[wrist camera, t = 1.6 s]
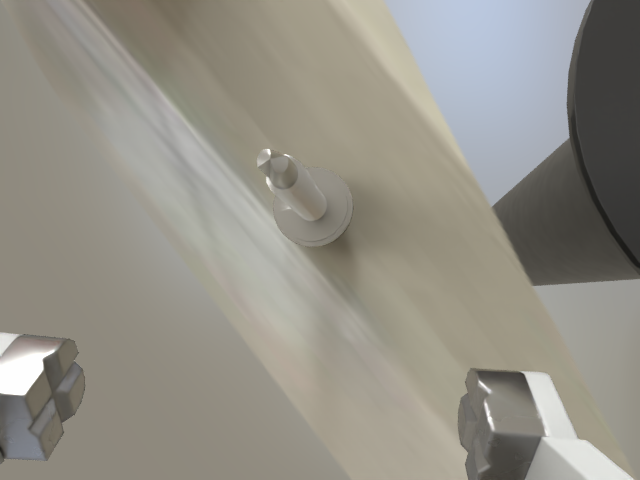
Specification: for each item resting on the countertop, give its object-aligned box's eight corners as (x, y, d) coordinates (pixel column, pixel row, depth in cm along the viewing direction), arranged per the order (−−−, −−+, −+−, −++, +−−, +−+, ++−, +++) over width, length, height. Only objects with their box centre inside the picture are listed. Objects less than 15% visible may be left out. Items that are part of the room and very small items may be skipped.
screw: (365, 234, 32) (294, 260, 33) (340, 164, 33) (270, 190, 33) (348, 193, 20) (231, 237, 20) (308, 80, 20) (196, 124, 21)
